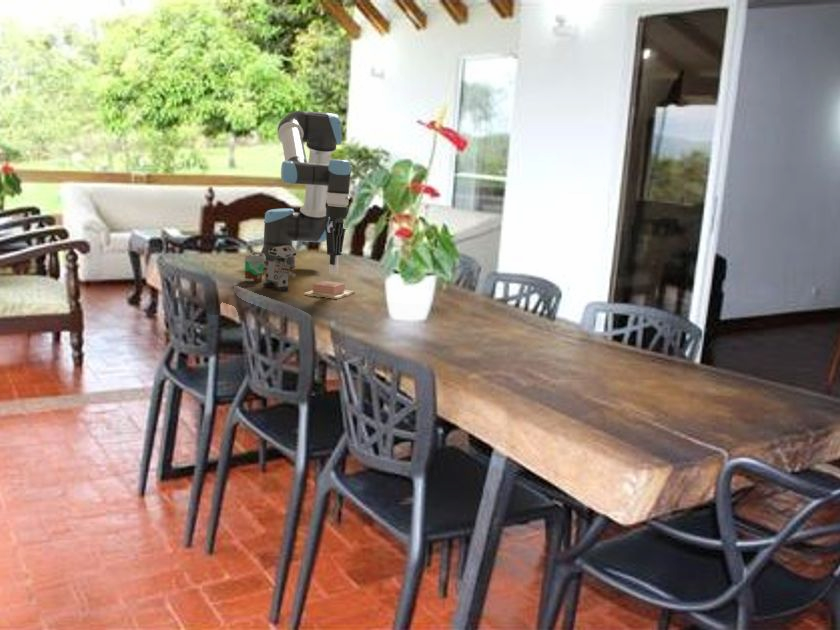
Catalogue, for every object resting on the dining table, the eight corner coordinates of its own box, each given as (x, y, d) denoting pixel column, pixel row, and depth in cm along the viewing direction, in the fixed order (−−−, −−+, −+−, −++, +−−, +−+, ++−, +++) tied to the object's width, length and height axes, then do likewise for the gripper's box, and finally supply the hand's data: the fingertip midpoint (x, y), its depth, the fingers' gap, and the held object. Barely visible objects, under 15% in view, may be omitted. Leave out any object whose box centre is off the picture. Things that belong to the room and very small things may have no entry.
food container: (261, 285, 298) (262, 257, 296) (243, 283, 298) (245, 255, 296) (268, 279, 310) (269, 252, 308) (251, 278, 310) (252, 251, 308)
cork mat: (323, 288, 300) (323, 286, 300) (354, 293, 297) (354, 291, 296) (303, 295, 285) (303, 292, 285) (336, 299, 282) (336, 297, 281)
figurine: (301, 289, 296) (304, 247, 293) (275, 291, 287) (277, 248, 284) (285, 285, 302) (287, 243, 299) (259, 287, 293) (261, 244, 290)
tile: (324, 280, 295) (312, 283, 286) (344, 283, 292) (334, 286, 284) (323, 289, 295) (312, 292, 287) (344, 292, 293) (333, 295, 284)
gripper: (339, 207, 279) (335, 277, 284) (354, 205, 292) (350, 272, 296) (319, 205, 282) (315, 274, 286) (335, 203, 294) (331, 270, 298)
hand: (333, 273), depth 291 cm, fingers closed
